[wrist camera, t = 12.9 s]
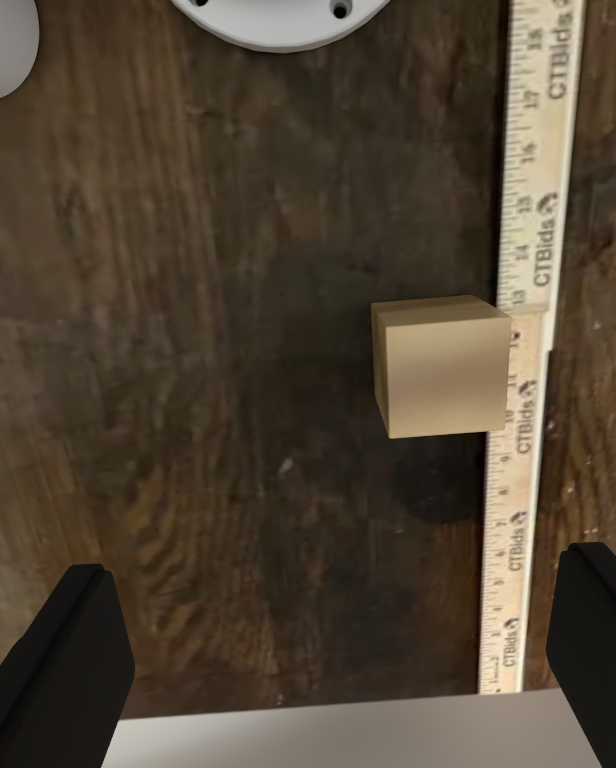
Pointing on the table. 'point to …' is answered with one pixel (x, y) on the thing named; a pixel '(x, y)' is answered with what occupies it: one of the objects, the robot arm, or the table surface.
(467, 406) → the block
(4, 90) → the mug
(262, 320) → the table surface
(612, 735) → the robot arm
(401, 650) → the table surface
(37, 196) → the table surface
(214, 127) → the table surface
